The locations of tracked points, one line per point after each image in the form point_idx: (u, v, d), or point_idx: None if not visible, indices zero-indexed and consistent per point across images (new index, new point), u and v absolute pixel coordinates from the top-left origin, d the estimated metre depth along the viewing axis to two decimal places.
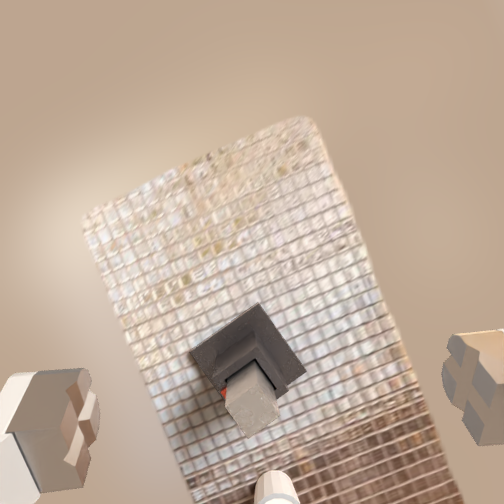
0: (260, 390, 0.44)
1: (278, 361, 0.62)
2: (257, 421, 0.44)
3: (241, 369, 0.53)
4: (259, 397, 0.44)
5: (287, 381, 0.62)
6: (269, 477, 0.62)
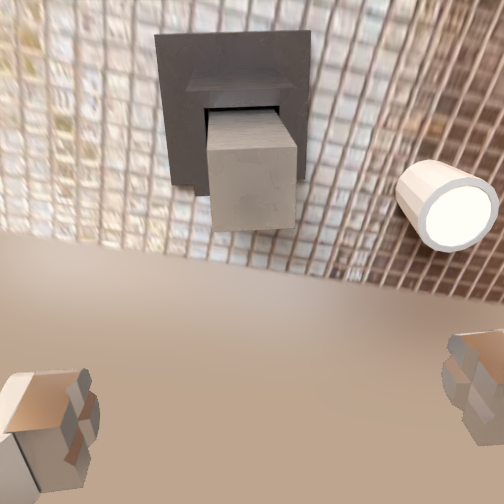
0: (223, 152, 0.19)
1: (265, 66, 0.35)
2: (277, 194, 0.20)
3: None
4: (235, 164, 0.19)
5: (304, 73, 0.35)
6: (404, 187, 0.40)
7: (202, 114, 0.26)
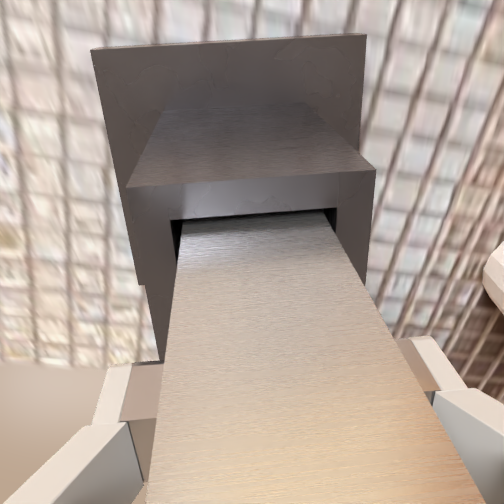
0: None
1: (287, 98, 0.20)
2: None
3: None
4: None
5: (352, 107, 0.21)
6: None
7: (167, 232, 0.12)
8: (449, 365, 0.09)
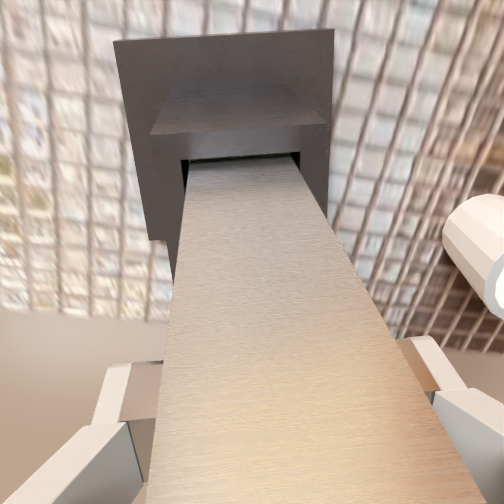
0: None
1: (271, 81, 0.25)
2: None
3: None
4: None
5: (324, 88, 0.25)
6: (457, 232, 0.30)
7: (178, 169, 0.17)
8: (449, 365, 0.09)
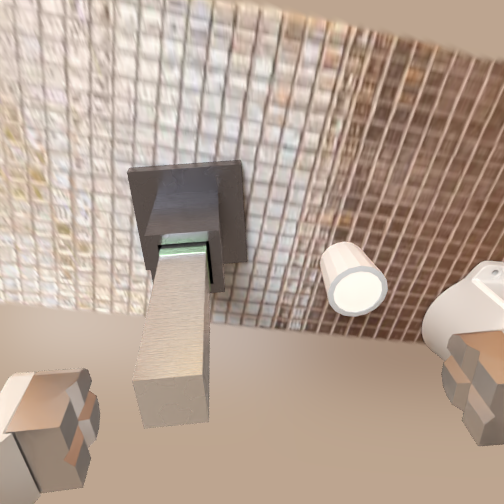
0: (145, 381, 0.25)
1: (209, 188, 0.47)
2: (191, 403, 0.26)
3: None
4: (155, 387, 0.25)
5: (238, 191, 0.48)
6: (323, 265, 0.52)
7: (156, 248, 0.39)
8: None
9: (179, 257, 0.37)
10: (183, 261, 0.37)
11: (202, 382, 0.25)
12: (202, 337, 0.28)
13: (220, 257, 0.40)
